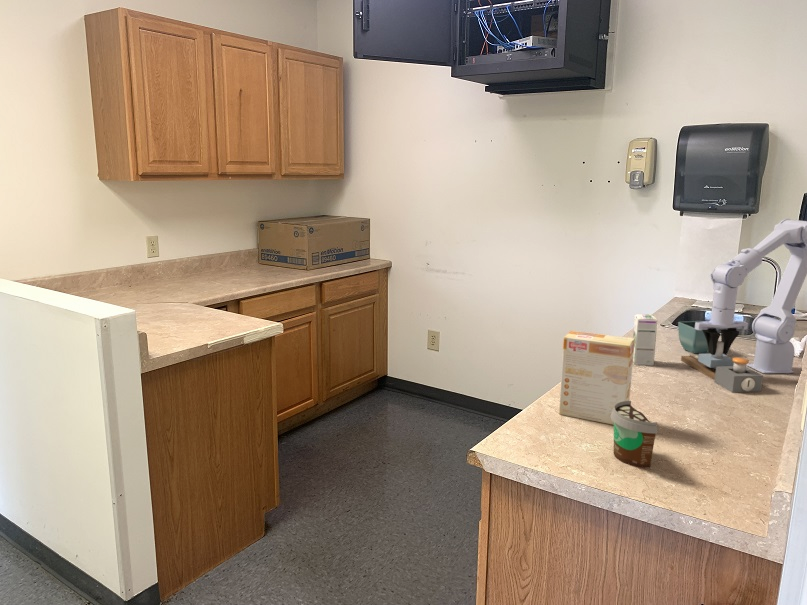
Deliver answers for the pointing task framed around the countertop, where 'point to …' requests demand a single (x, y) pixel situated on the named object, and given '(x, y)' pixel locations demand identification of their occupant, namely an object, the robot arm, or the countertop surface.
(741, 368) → the button
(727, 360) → the carriage
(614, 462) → the countertop surface
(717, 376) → the button box
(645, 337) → the syrup box
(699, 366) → the rail
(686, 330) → the flower pot
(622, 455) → the food container
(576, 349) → the coffeecake box
